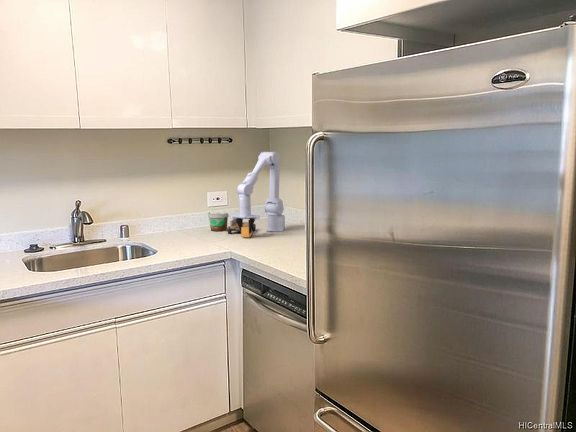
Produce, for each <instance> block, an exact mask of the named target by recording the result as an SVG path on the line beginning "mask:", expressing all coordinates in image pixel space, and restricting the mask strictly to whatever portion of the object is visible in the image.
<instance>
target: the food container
mask: <svg viewBox="0 0 576 432" xmlns="http://www.w3.org/2000/svg"><path fill="white" fill-rule="evenodd" d="M207 217H208V218H209V227H210V231H211V232H216V233H218V232H226V231H228V220H229V219H228V218H229V217H230V215H229V212H226V213H211V212H208V214H207Z"/></svg>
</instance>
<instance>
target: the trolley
mask: <svg viewBox="0 0 576 432" xmlns="http://www.w3.org/2000/svg"><path fill="white" fill-rule="evenodd" d="M236 220H237V219H231V220H229V222H230V223H229V224H230V226H228V225H227V234H228V235H231V234H232V232H240V228H239V226H238V224H237V222H236ZM243 226H249V222H246V221H245V222H244V221H243ZM256 226H257V225H256V223H254V224H253V227H252V231H254V232H255V231H256V229H257V227H256Z"/></svg>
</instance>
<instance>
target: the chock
mask: <svg viewBox="0 0 576 432" xmlns="http://www.w3.org/2000/svg"><path fill="white" fill-rule="evenodd" d="M253 234H254V233H253V231H251V233H249V226H242V227H241V232H240V235H241V238H250V237H251V236H252V235H253Z"/></svg>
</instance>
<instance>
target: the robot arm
mask: <svg viewBox="0 0 576 432" xmlns="http://www.w3.org/2000/svg"><path fill="white" fill-rule="evenodd" d="M257 159H258V160H257V162H256V164H255V166H254V168H253V170H252V171H251V172H248V173H247V175H246V176H245V178H244V179H243V181H242V183H240V184H239V185H238V186H237V187H236V193H237V195H238V200H239V214H231V220H233V219H237V220H236V222H237V224H238V226H239V228H240V229H239V230H240V231H239V232H240V233H241V227H242V226H243V222H244V220H247V221H248V222H249V233H251V231H252V227H253V224H255V221H256V220H260V219H261V218H260V214H259V215H256V214H252V210H251V209H252V208H251V207H252V204H251V203H252V201H251V195H252V194H253V190H254V186H255V185H256V183H257V182H258V180H259V177H258V176H259V175H260V173H261V172H262V170H263V169H264V168H265V167H267V168H268V169H269V189H268V190H269V192H268V193H269V194H268V198H267V199H266V200H265V205H264V211H265V213H266V215H267V229H266V230H265V231H266V232H284V231H285V230H286V220H285V219H286V218H285V217H286V216H285V214H283V213H284V202H283V199H281V197H280V167H281V164H280V163H281V155H280V154H279V153H278V151H277V152H276V151H261V152H260V154H259V155H258V158H257Z"/></svg>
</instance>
